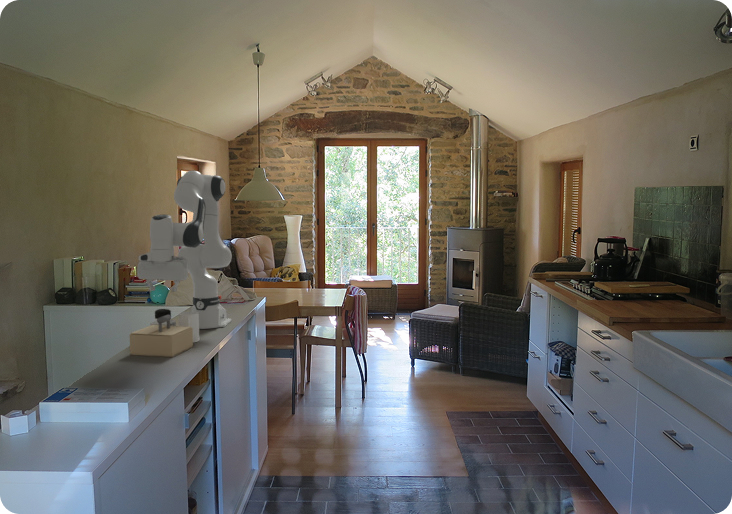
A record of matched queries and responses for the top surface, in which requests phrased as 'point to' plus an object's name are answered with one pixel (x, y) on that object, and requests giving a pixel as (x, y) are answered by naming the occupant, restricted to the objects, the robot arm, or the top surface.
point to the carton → (159, 342)
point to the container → (162, 313)
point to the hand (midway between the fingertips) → (163, 291)
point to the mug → (190, 323)
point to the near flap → (168, 327)
